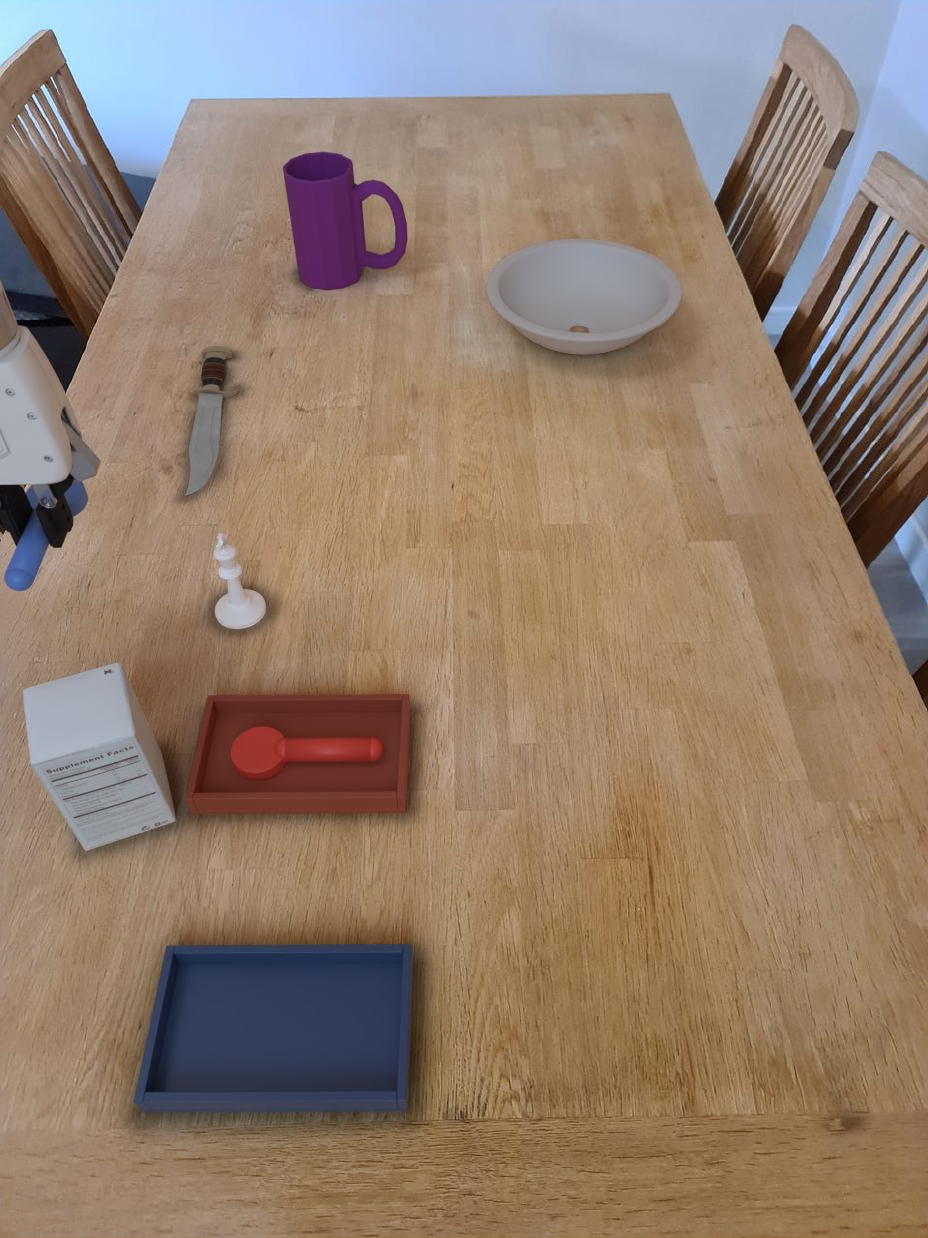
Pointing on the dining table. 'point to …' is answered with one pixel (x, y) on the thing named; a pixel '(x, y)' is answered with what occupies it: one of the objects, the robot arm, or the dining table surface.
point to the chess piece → (235, 591)
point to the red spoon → (295, 751)
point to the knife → (208, 417)
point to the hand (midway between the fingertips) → (44, 534)
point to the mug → (335, 220)
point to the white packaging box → (97, 755)
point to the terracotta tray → (303, 782)
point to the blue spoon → (37, 540)
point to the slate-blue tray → (279, 1030)
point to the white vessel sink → (583, 294)
